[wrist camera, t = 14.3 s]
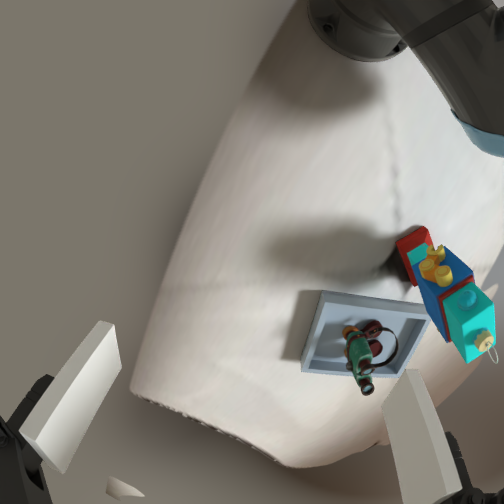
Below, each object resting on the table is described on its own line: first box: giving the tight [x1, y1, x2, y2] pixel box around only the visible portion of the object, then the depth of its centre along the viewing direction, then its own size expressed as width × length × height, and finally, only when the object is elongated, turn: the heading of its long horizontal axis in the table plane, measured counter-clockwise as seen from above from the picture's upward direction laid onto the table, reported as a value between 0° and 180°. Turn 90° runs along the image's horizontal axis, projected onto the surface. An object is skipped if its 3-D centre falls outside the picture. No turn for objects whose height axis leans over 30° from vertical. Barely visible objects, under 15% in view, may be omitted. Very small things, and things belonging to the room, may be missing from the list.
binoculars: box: [342, 320, 399, 396], centre depth 43 cm, size 9×11×10 cm
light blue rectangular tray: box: [300, 290, 431, 378], centre depth 47 cm, size 15×20×4 cm
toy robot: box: [395, 226, 498, 363], centre depth 30 cm, size 12×6×25 cm, turn 33°
